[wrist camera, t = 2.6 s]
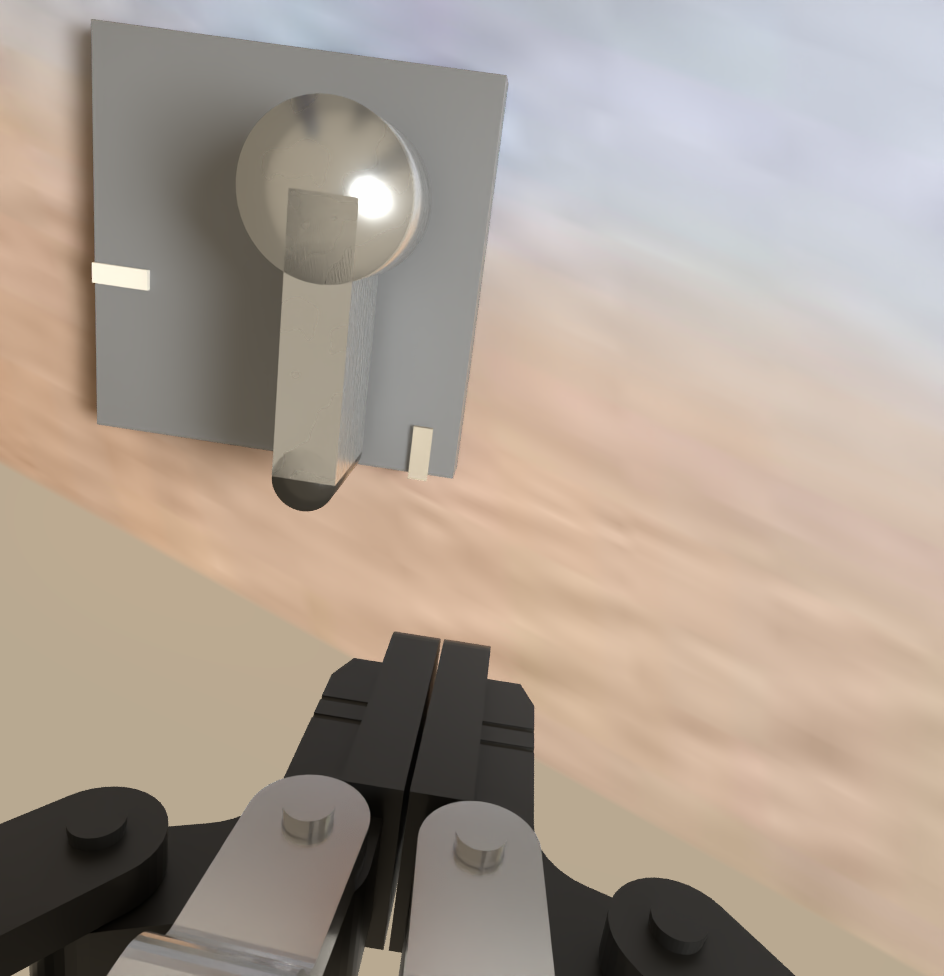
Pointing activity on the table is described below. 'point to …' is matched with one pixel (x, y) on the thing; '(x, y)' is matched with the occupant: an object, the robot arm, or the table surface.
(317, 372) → the lever
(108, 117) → the base
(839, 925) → the table surface
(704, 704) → the table surface
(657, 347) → the table surface
